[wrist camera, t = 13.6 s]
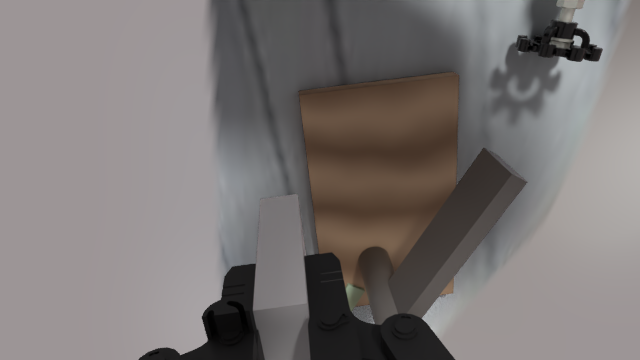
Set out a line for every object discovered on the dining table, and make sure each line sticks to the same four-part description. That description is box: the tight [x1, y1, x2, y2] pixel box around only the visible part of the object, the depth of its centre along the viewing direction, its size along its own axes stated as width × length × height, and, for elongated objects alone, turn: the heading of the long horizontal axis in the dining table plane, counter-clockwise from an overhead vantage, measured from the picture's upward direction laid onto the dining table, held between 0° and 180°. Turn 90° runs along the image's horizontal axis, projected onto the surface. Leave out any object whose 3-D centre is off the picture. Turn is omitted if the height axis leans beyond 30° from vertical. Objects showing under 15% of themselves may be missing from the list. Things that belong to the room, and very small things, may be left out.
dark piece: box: [358, 148, 527, 325], centre depth 39 cm, size 22×5×15 cm, turn 152°
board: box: [299, 72, 459, 312], centre depth 46 cm, size 24×14×2 cm, turn 6°
